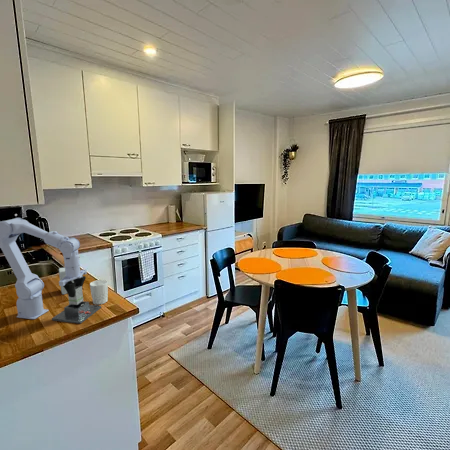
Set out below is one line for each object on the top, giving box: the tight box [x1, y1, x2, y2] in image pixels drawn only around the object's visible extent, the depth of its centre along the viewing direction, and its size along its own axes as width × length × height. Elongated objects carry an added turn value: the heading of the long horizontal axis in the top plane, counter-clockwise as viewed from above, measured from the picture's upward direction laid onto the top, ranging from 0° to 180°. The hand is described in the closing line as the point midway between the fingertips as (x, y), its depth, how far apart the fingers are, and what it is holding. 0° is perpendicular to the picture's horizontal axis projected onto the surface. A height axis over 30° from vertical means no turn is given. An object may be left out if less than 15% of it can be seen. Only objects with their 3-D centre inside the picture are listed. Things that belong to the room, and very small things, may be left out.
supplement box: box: [58, 266, 74, 295], centre depth 146 cm, size 7×7×13 cm
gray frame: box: [51, 300, 102, 325], centre depth 123 cm, size 14×14×5 cm
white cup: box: [89, 279, 109, 306], centre depth 134 cm, size 8×8×10 cm
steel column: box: [67, 285, 84, 305], centre depth 121 cm, size 4×4×7 cm
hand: (75, 294), depth 121 cm, fingers closed on steel column, 4 cm apart
